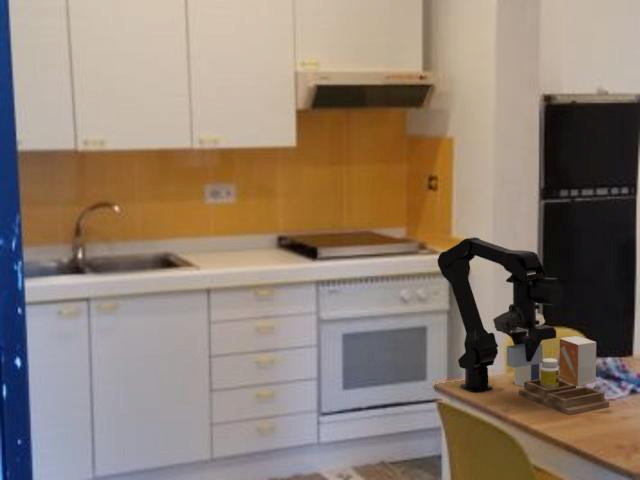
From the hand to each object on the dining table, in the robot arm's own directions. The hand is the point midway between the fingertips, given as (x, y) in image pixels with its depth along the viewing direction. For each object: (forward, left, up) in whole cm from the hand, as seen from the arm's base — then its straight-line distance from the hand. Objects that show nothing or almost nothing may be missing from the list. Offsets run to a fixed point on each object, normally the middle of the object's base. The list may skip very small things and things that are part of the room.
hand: (524, 360), depth 231 cm
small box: (-5, +22, -12) cm, 25 cm away
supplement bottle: (-2, +10, -10) cm, 14 cm away
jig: (+3, +10, -11) cm, 15 cm away
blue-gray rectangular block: (0, 0, -1) cm, 1 cm away
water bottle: (-13, +12, -12) cm, 21 cm away
